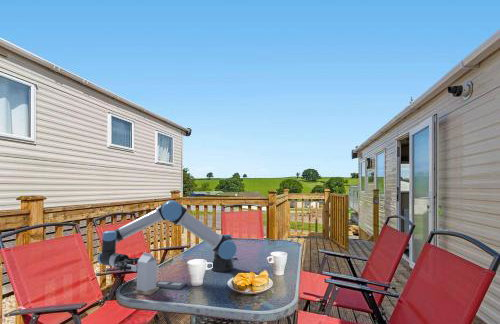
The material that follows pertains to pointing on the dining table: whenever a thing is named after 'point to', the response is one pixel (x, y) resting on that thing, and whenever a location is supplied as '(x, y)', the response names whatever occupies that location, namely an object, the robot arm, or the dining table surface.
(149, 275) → the milk carton
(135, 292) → the coaster
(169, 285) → the label panel
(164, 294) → the dining table surface
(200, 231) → the robot arm
